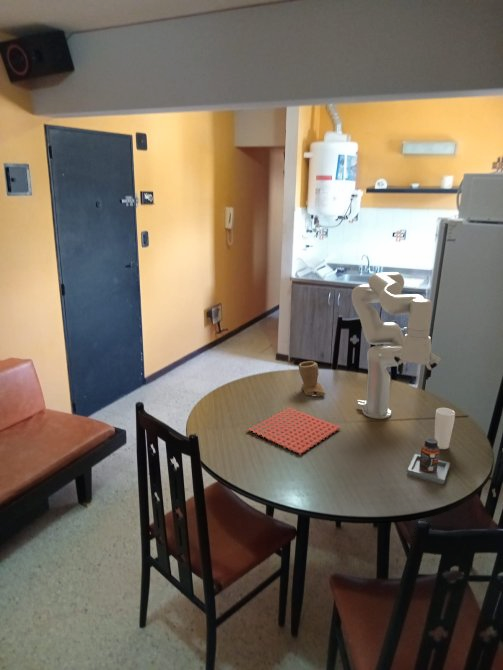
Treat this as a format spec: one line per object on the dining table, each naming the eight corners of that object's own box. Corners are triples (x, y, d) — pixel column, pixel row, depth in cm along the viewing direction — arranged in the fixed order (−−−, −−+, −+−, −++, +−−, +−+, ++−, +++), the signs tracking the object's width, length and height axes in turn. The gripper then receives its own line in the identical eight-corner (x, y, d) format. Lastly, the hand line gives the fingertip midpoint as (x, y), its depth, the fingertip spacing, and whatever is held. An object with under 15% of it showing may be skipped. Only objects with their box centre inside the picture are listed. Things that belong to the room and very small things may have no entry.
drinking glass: (442, 452, 175) (446, 416, 171) (428, 444, 181) (432, 409, 176) (454, 448, 178) (459, 412, 174) (440, 440, 184) (444, 405, 179)
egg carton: (341, 431, 193) (341, 426, 192) (300, 458, 173) (300, 453, 173) (288, 410, 211) (288, 406, 211) (246, 433, 192) (246, 429, 191)
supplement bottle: (435, 475, 159) (439, 446, 156) (417, 470, 162) (420, 441, 159) (438, 467, 164) (442, 438, 161) (421, 462, 167) (424, 434, 164)
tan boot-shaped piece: (296, 386, 237) (297, 358, 233) (319, 385, 238) (320, 357, 233) (301, 398, 223) (302, 369, 218) (325, 397, 223) (326, 368, 219)
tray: (407, 474, 161) (407, 469, 161) (414, 458, 171) (415, 453, 171) (443, 485, 155) (444, 480, 155) (449, 467, 165) (449, 462, 165)
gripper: (391, 331, 170) (388, 375, 175) (441, 338, 161) (436, 384, 166) (396, 326, 176) (393, 369, 181) (445, 333, 167) (439, 377, 172)
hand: (413, 376), depth 174 cm, fingers open, 9 cm apart
